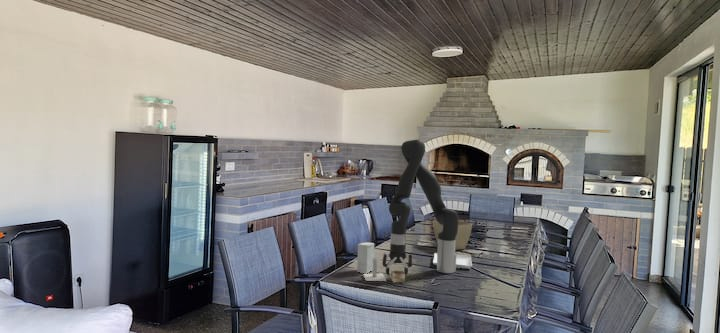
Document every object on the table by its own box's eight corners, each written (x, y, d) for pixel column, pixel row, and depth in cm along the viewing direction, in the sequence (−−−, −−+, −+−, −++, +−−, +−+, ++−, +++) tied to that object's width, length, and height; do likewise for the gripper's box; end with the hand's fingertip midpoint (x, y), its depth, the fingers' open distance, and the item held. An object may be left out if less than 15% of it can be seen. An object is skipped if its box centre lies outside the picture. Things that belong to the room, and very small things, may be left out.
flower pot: (430, 245, 289) (431, 220, 288) (454, 243, 297) (455, 219, 296) (448, 252, 271) (449, 225, 271) (472, 250, 279) (473, 224, 279)
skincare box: (366, 274, 221) (367, 245, 220) (356, 272, 224) (357, 244, 223) (374, 270, 228) (375, 242, 228) (364, 268, 231) (365, 241, 231)
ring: (402, 278, 216) (402, 270, 216) (404, 282, 210) (405, 274, 210) (390, 278, 216) (390, 270, 215) (392, 282, 210) (392, 274, 210)
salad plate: (472, 271, 233) (472, 265, 233) (432, 268, 237) (432, 261, 237) (470, 261, 254) (471, 255, 253) (434, 258, 258) (434, 252, 258)
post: (382, 275, 220) (383, 256, 220) (386, 281, 210) (386, 261, 210) (363, 275, 219) (363, 256, 219) (365, 281, 209) (366, 261, 209)
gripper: (410, 240, 217) (409, 272, 218) (382, 240, 215) (381, 272, 216) (414, 244, 209) (412, 277, 210) (384, 243, 208) (383, 277, 209)
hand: (396, 275), depth 213 cm, fingers open, 8 cm apart
